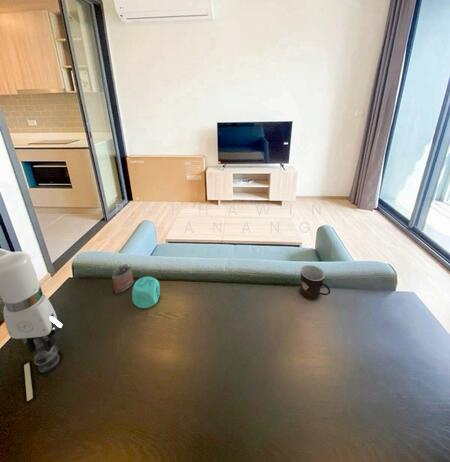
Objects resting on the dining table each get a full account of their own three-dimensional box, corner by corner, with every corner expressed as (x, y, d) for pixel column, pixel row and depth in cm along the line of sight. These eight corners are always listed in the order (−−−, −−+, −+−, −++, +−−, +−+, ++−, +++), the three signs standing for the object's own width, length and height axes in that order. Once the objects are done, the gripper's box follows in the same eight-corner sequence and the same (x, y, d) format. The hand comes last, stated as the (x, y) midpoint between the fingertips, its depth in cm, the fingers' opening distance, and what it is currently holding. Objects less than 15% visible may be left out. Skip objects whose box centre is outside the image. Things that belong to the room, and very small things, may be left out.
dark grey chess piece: (58, 349, 76) (48, 320, 71) (63, 362, 72) (52, 333, 68) (35, 362, 72) (22, 333, 68) (39, 378, 68) (26, 347, 64)
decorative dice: (155, 308, 90) (152, 291, 87) (133, 308, 90) (130, 291, 87) (160, 292, 97) (158, 276, 94) (140, 292, 97) (138, 276, 95)
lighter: (130, 279, 104) (127, 260, 101) (135, 282, 102) (132, 263, 99) (113, 291, 98) (108, 271, 95) (118, 294, 96) (113, 274, 93)
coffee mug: (294, 286, 99) (297, 266, 96) (315, 284, 100) (318, 264, 97) (307, 309, 88) (310, 287, 85) (329, 307, 89) (333, 285, 86)
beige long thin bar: (24, 365, 71) (24, 365, 71) (29, 362, 72) (29, 362, 72) (27, 401, 63) (27, 401, 63) (32, 397, 63) (32, 397, 63)
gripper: (-23, 312, 59) (2, 363, 65) (49, 306, 60) (66, 357, 67) (1, 289, 66) (21, 337, 72) (65, 284, 67) (79, 333, 74)
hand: (43, 346), depth 69 cm, fingers closed on dark grey chess piece, 3 cm apart
